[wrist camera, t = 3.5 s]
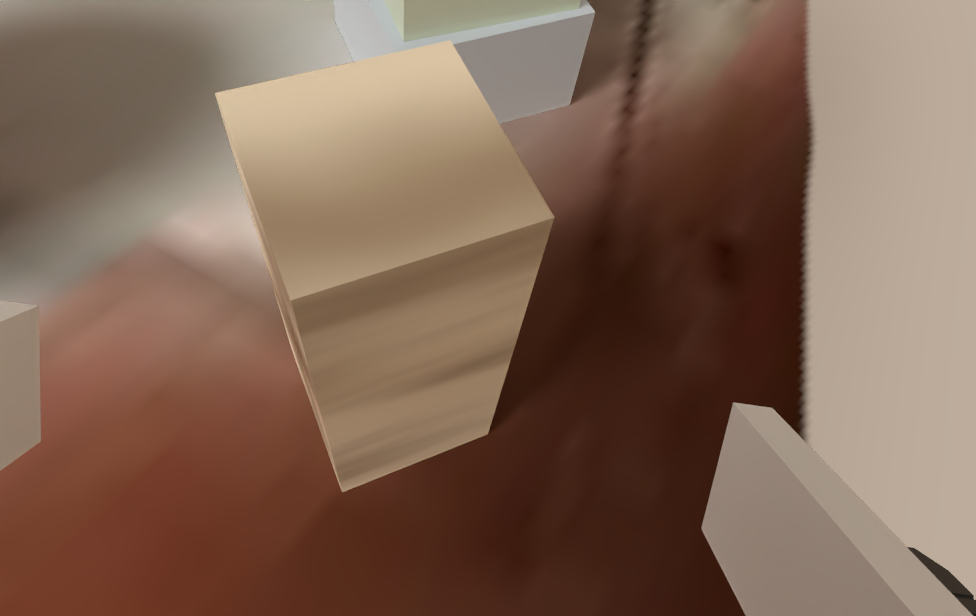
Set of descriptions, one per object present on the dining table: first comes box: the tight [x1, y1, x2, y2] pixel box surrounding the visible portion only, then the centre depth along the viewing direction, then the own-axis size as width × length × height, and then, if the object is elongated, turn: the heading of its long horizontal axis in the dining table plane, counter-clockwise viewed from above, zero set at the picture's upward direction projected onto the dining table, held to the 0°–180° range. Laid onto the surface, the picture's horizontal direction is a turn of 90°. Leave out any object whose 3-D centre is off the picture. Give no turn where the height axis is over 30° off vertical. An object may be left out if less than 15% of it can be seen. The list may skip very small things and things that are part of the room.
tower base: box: [333, 0, 595, 124], centre depth 30 cm, size 8×8×5 cm
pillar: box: [215, 40, 554, 492], centre depth 19 cm, size 5×5×12 cm
